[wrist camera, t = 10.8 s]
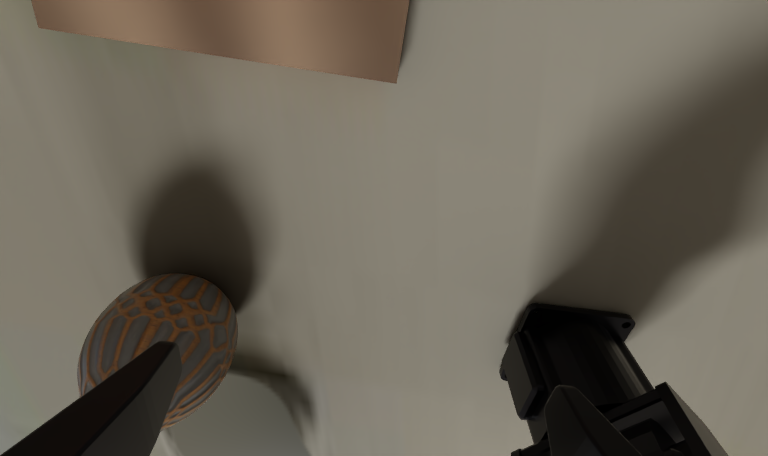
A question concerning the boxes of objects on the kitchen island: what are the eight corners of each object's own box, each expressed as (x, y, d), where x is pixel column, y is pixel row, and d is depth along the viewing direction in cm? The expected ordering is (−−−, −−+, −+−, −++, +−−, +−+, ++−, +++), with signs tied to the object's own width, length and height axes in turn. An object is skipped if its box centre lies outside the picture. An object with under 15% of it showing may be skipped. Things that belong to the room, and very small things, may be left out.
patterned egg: (136, 328, 26) (31, 470, 18) (132, 240, 22) (1, 372, 15) (245, 350, 27) (188, 494, 19) (258, 269, 23) (194, 407, 16)
